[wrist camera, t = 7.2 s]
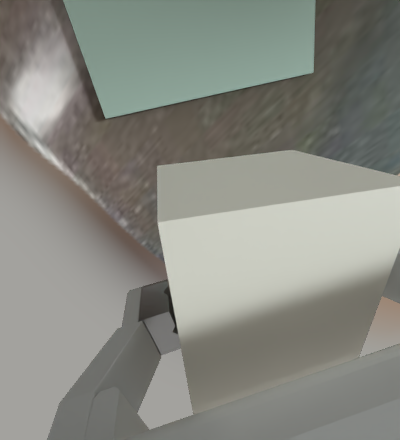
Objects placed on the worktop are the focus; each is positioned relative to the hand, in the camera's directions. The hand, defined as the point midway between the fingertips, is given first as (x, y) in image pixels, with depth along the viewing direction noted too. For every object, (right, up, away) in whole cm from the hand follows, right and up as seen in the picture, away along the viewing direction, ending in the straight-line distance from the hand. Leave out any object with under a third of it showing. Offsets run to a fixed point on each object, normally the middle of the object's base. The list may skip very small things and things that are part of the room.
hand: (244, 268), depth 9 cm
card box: (0, +1, +2) cm, 2 cm away
